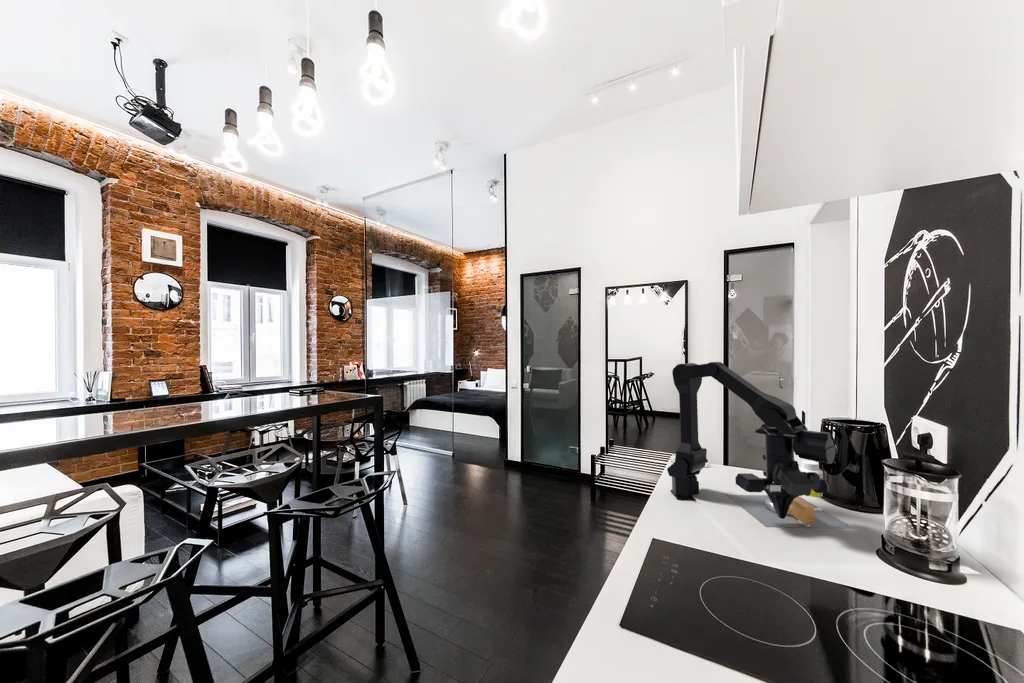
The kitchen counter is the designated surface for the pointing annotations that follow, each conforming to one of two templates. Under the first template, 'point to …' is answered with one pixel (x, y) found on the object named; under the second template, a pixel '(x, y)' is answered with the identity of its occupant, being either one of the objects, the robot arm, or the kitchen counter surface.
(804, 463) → the supplement bottle
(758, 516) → the board
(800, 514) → the dial
